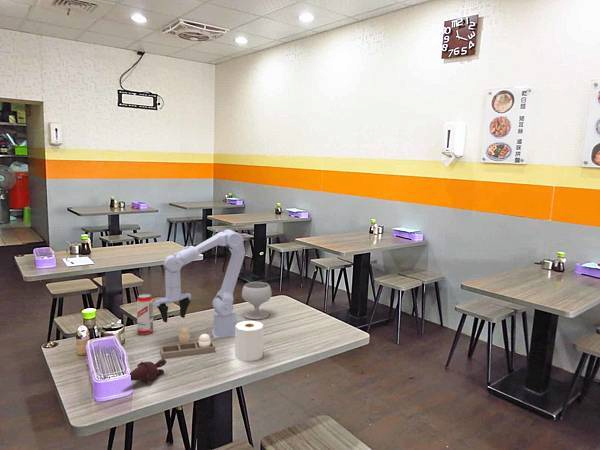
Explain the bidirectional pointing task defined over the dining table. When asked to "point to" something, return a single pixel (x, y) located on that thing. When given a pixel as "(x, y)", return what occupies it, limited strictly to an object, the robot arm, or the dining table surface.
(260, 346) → the toilet paper
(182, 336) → the tan egg
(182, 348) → the egg carton
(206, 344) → the cream egg
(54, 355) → the dining table surface
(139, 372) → the brown plush toy
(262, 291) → the chalice
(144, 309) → the beer can
